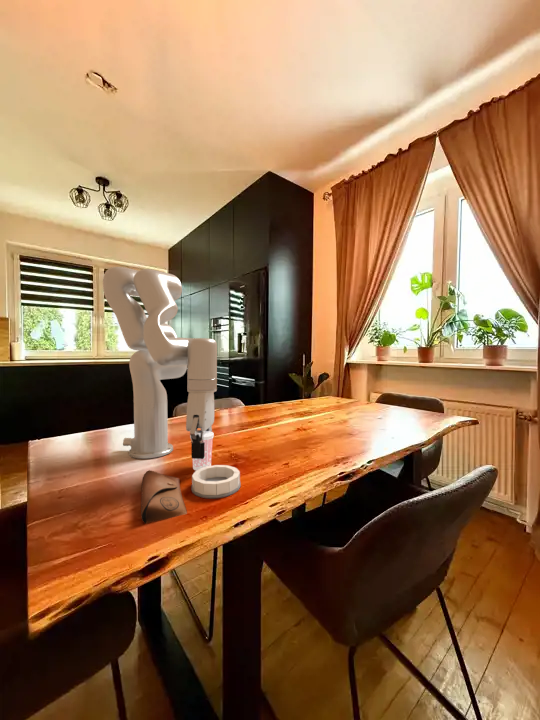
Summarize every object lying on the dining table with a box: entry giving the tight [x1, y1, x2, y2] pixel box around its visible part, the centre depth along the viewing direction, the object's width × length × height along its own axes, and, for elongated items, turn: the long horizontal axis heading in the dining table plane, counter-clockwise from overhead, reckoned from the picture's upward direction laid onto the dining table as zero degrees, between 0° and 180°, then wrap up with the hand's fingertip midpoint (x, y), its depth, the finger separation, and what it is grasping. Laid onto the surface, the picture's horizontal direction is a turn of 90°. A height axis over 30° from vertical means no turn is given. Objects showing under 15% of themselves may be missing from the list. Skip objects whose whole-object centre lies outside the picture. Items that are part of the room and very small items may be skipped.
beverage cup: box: [189, 428, 215, 471], centre depth 79 cm, size 6×6×14 cm
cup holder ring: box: [191, 464, 241, 499], centre depth 68 cm, size 11×11×3 cm
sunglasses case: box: [140, 469, 188, 524], centre depth 63 cm, size 18×7×7 cm
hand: (202, 452), depth 79 cm, fingers closed on beverage cup, 6 cm apart
